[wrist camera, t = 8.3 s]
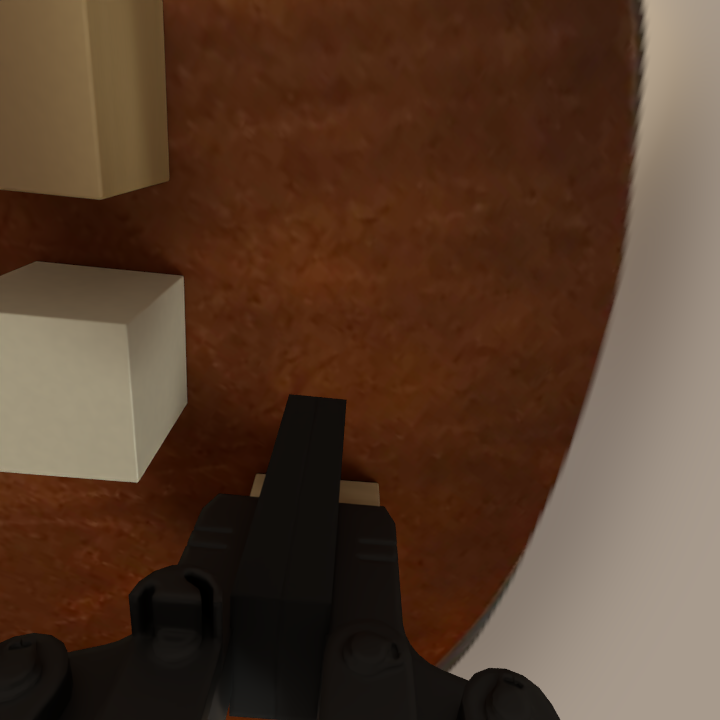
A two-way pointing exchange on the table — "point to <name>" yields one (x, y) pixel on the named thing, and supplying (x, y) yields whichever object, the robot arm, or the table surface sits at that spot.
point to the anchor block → (82, 97)
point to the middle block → (89, 369)
